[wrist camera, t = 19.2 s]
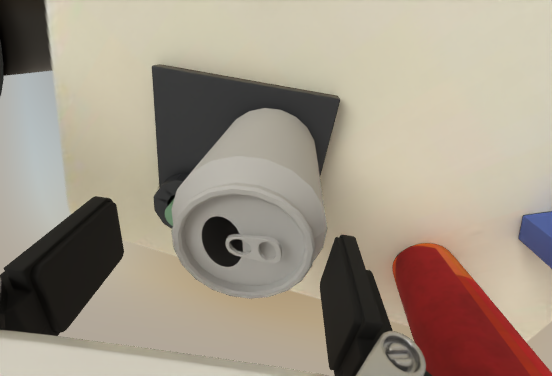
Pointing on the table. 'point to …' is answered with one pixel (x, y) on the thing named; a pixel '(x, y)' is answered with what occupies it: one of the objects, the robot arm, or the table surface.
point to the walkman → (538, 235)
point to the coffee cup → (458, 319)
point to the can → (252, 208)
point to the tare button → (169, 213)
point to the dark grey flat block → (220, 118)
